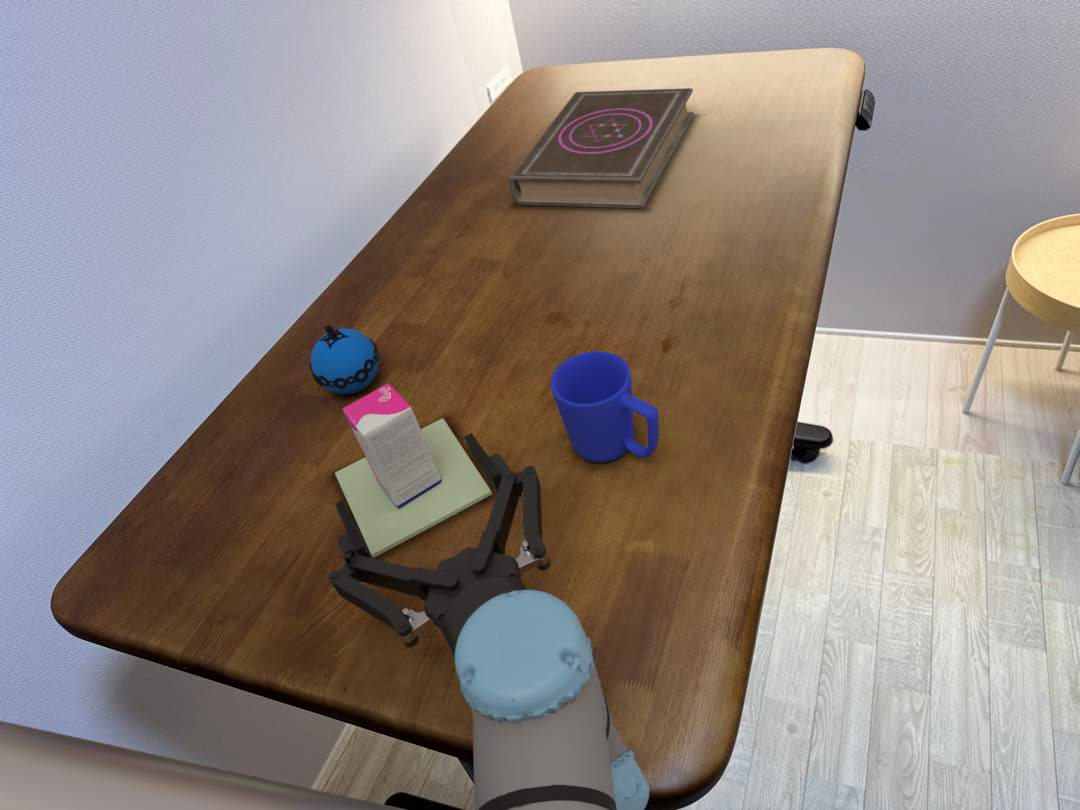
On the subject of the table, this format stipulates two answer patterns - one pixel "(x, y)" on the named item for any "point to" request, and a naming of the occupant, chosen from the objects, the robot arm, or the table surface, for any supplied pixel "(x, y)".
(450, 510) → the pale green square tile
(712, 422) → the table surface
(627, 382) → the mug
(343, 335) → the ornament
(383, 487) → the supplement box
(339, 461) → the table surface
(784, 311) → the table surface
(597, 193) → the book
